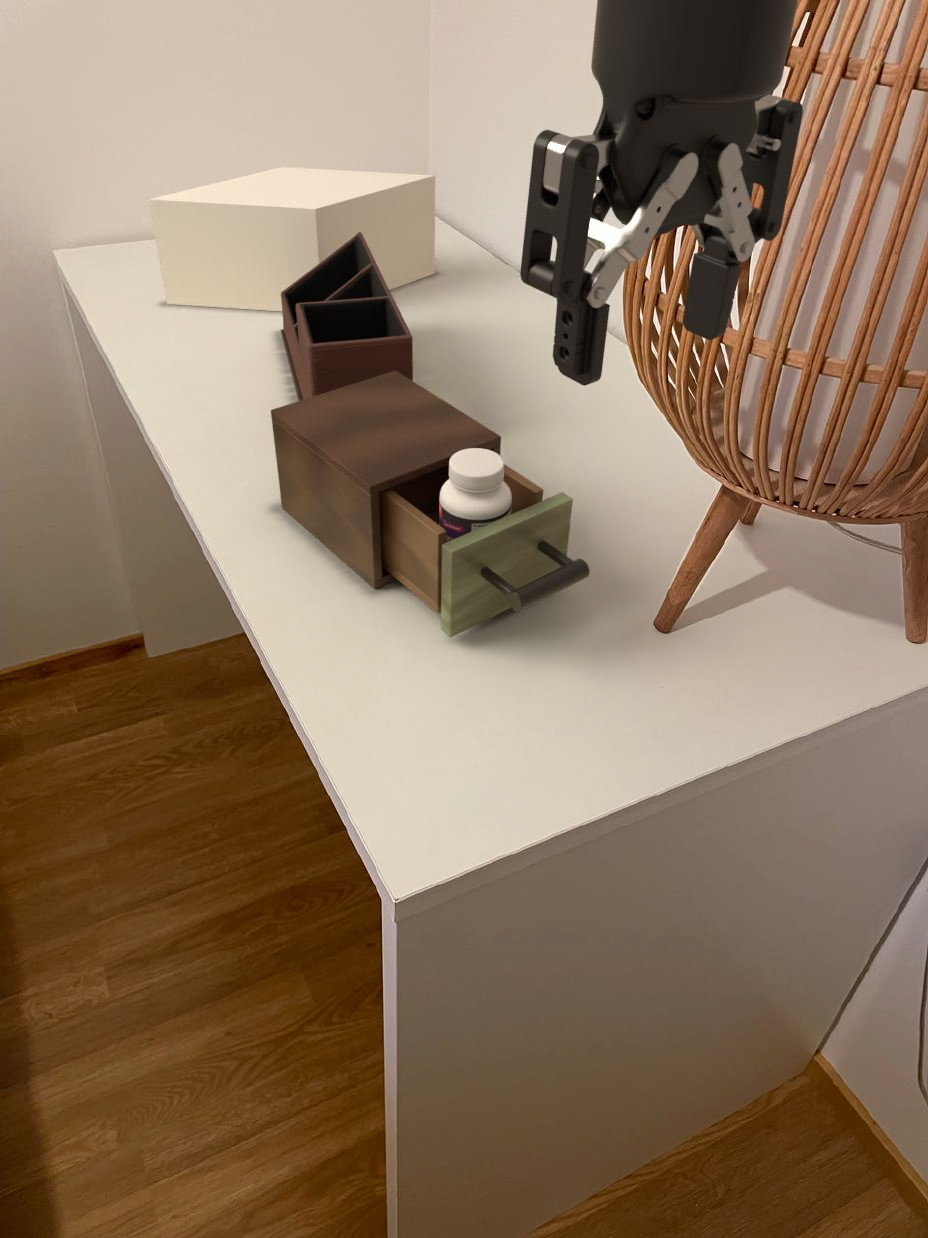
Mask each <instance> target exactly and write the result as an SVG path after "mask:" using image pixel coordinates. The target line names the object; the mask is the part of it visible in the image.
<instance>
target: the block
mask: <svg viewBox="0 0 928 1238" xmlns="http://www.w3.org/2000/svg"><path fill="white" fill-rule="evenodd" d="M148 206H149V211H150V217H151V222H152V228H153V233H154V238H155V243H156V250H157V256H158V260H159V266H160V267H159V268H160V272H161V273H160V274H161V278H162V284H163V289H164V295H165V301H166V305H178V306H194V307H206V308H207V307H208V308H222V309H223V308H224V309H237V310H238V309H239V310H252V311H253V310H254V311H268V312H269V311H270V312H282V301H281V292H282V291H284V290H285V289H286V288H288V287H289V286H290V285H292V284H293V283H294V282H296V281H297V280H298V279H299V278H301V277H302V276H303V275H305V274H306V273H307V272H309V271H310V270H311V269H313V268H314V267H315V266H317V265H318V264H319V263H320V262H322V261H323V260H324V259H326V258H327V257H328V256H330V255H331V254H332V253H334V252H335V251H336V250H337V249H339V248H340V247H341V246H342V245H344V244H345V243H346V242H348V241H349V240H350V239H351V238H353V237H354V236H355V235H357V234H358V233H359V232H361V233H362V235H363V237H364V239H365V241H366V243H367V245H368V247H369V249H370V251H371V253H372V256H373V258H374V260H375V262H376V264H377V266H378V268H379V270H380V272H381V274H382V277H383V279H384V281H385V283H386V285H387V287H388V289H389V291H391V290H394V289H396V288H399V287H402V286H405V285H407V284H409V283H413V282H416V281H418V280H421V279H423V278H426V277H429V276H433V275H435V274H436V175H433V174H416V173H401V172H400V173H399V172H398V173H397V172H396V173H395V172H383V171H381V172H380V171H378V172H377V171H363V170H361V171H360V170H344V169H325V168H309V167H308V168H307V167H289V166H288V167H287V166H280V167H276V168H273V169H269V170H268V169H267V170H265V171H260V172H256V173H251V174H247V175H244V176H243V175H242V176H239V177H235V178H231V179H227V180H223V181H218V182H213V183H210V184H206V185H202V186H198V187H193V188H190V189H185V190H182V191H181V190H180V191H176V192H173V193H169V194H165V195H164V194H163V195H161V196H156V197H153V198H149V199H148Z"/></svg>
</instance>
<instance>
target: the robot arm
mask: <svg viewBox="0 0 928 1238" xmlns="http://www.w3.org/2000/svg"><path fill="white" fill-rule="evenodd" d="M798 2H799V0H597V2H596V10H595V11H596V13H595V23H594V33H593V44H592V45H593V46H592V54H591V65H590V66H591V72H592V76H593V77H594V79H595V80H596V83H598V86H599V89H600V91H601V95H602V105H601V111H600V113H599V118H598V120H597V123H596V126H595V128H594V130H593V132H592V134H587V135H577V136H570V135H566V134H564V133H560V132H556V131H554V130H550V129H543V130H542V131H541V132H540V133H539V134H538V135H537V136H536V138H535V140H534V143H533V148H532V155H531V156H532V158H531V165H530V166H531V167H530V177H529V185H528V186H529V187H528V195H527V205H526V206H527V207H526V215H525V224H524V233H523V243H522V253H521V263H520V271H519V274H520V275H519V276H520V280H521V281H522V283H524V285H527V286H529V287H531V288H533V289H535V290H537V291H538V290H539V291H540V292H542V293H544V294H545V295H548V296H550V297H552V298H555V299H556V311H555V323H554V335H553V343H554V344H553V346H552V347H553V348H552V359H553V363H554V365H555V366H556V367H557V369H558V371H559V373H560V374H561V375H562V376H565V377H566V378H568V379H570V380H572V381H574V382H576V383H578V384H579V385H581V386H588V385H592V384H593V383H596V382H598V381H600V380H601V378H602V372H603V365H604V357H605V351H606V349H605V348H606V341H607V333H608V332H607V331H608V325H609V317H610V309H611V304H609V303H606V302H607V301H608V299H609V298H610V296H611V295H612V293H613V291H614V289H615V287H616V285H617V284H618V282H619V281H620V278H621V277H622V275H623V273H624V272H625V270H626V268H627V266H628V265H629V264H631V263H636V262H638V261H640V260H641V259H642V258H643V257H644V256H645V254H646V252H647V250H648V248H649V247H650V245H651V243H652V242H653V240H654V239H655V237H659V236H662V235H665V234H668V233H671V231H673V230H674V229H676V228H678V227H680V226H682V225H683V226H690V227H691V228H692V230H693V233H694V236H695V238H696V241H697V244H698V245H699V247H700V248H703V250H702V251H698V252H694V253H693V257H692V263H691V268H690V269H691V270H690V274H689V280H688V286H687V292H686V297H685V303H684V309H683V315H682V325H683V327H684V329H685V330H686V331H688V332H689V333H692V334H693V335H696V336H699V337H701V338H703V339H705V340H708V341H712V340H714V339H718V338H721V337H723V336H724V335H725V334H726V331H727V326H728V321H729V318H730V316H731V314H732V310H733V305H734V300H735V296H736V293H735V292H736V291H737V285H738V281H739V278H740V277H739V276H740V272H741V266H742V263H744V262H746V261H748V259H749V258H750V257H751V255H752V254H753V253H754V252H753V251H754V249H755V246H756V244H757V243H758V242H759V241H761V240H764V241H766V242H771V241H773V240H775V238H776V237H777V236H778V235H779V233H780V231H781V229H782V225H783V219H784V214H785V209H786V204H787V199H788V193H789V187H790V183H791V177H792V172H793V168H794V162H795V156H796V151H797V147H798V146H797V145H798V141H799V135H800V130H801V126H802V119H803V115H804V114H803V113H804V108H803V104H802V103H801V102H799V101H794V100H790V99H787V98H785V97H781V96H777V95H773V94H772V93H773V92H774V91H775V90H776V89H777V88H778V87H779V86H780V84H781V81H783V80H782V79H783V76H784V70H785V66H786V61H787V56H788V51H789V47H790V41H791V37H792V33H793V27H794V23H795V17H796V13H797V8H798ZM755 184H756V185H760V187H762V189H763V195H762V200H761V206H760V208H759V207H756V206H753V205H752V197H753V192H754V185H755ZM610 210H612V213H613V215H614V216H615V218H616V220H618V221H619V222H620V223H621V224H622V225H624V226H623V227H616V226H613V225H611V224H608V223H606V222H604V220H605V218H606V217H607V215H608V213H609V211H610ZM554 239H555V241H556V251H555V259H554V260H551V258H552V250H553V240H554ZM598 250H604V251H603V252H602V254H601V256H600V257H599V259H598V261H597V263H596V264H595V266H594V268H593V270H592V272H590V271H588V270H586V268H587V266H588V264H590V261H591V260H592V258H593V255H594V254H595V253H596V252H597V251H598Z"/></svg>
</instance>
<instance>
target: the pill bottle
mask: <svg viewBox="0 0 928 1238" xmlns="http://www.w3.org/2000/svg"><path fill="white" fill-rule="evenodd" d="M504 464H505V461H504V459H503V457H502V456H501V454H500V455H498V454H497V453H495V452H493V451H491V450H487V449H482V448H470V449H464V450H461V451H458V452H456V453H455V454H454V455H453V456H452V457H451V458H450V461H449V480H447V481H446V482H445V483H444V485H443V486H442V488H441V491H440V498H439V526H441V527H442V528H443V529H445V530H446V531H447V542H449V541H451V540H454V539H456V538H458V537H461V536H463V535H465V534H467V533H470V532H472V531H474V530H477V529H479V528H481V527H484V526H486V525H488V524H490V523H493V522H495V521H497V520H500V519H502V518H504V517H507V516H509V515H511V506H512V494H511V491H510V488H509V487H508V485H507V484H506V483H505V482H504V481H503V478H504Z"/></svg>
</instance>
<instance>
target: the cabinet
mask: <svg viewBox="0 0 928 1238" xmlns="http://www.w3.org/2000/svg"><path fill="white" fill-rule="evenodd" d="M270 415H271V416H270V417H271V425H272V433H273V442H274V450H275V451H274V452H275V459H276V469H277V476H278V485H279V493H280V503H281V509H283V511H285V512H286V513H287V514H288V515H290V516H291V517H292V518H293V519H294V520H295V521H296V522H297V523H299V524H300V526H302V527H303V528H304V529H305V530H307V531H308V532H309V533H310V534H311V535H312V536H314V538H316V540H318V542H320V543H321V544H322V545H324V547H326V548H327V549H328V550H329V551H330V552H332V553H333V554H334V555H335V556H336V557H337V558H338V559H340V560H341V561H342V562H343V563H344V564H345V565H346V566H347V567H348V568H349V569H351V570H352V571H353V572H354V573H355V574H357V575H358V576H359V578H360V577H361V579H362V580H364V581H365V583H367V584H368V585H369V586H370V587H372V589H374V590H377V589H379V588H382V587H384V586H386V585H387V584H390V583H393V582H395V581H398V580H397V579H396V578H395V577H394V576H393V575H392V574H390V573H389V572H388V571H387V570H386V569H384V568H383V567H382V558H381V533H380V508H379V493H378V492H381V491H383V490H386V489H388V488H391V487H394V486H396V485H399V484H401V483H404V482H406V481H409V480H412V479H414V478H417V477H419V476H422V475H425V474H427V473H430V472H432V471H435V470H437V469H440V468H443V467H445V466H448V465H449V461H450V458H451V457H452V456H453V455H454V454H455V453H456V452H458V451H461V450H464V449H470V448H482V449H487V450H491V451H493V452H495V453H497V454H498V455H500V456H501V450H502V449H501V445H502V436H501V435H499V434H498V433H496V432H495V431H494V430H491V429H490V428H489V427H487V426H485V425H483V424H482V423H480V422H478V421H477V420H476V419H474V418H472V417H471V416H469V415H468V414H466V413H464V412H463V411H462V410H459V408H457V407H455V406H453V405H452V404H450V403H448V402H447V401H445V400H444V399H442V398H440V397H439V396H437V395H436V394H434V393H432V392H431V391H429V390H428V389H426V388H424V387H423V386H421V385H420V384H418V383H416V382H415V381H414V380H413V381H412V380H410V379H409V378H407V377H405V376H404V375H402V374H401V373H399V372H397V371H392V372H389V373H386V374H383V375H380V376H377V377H373V378H370V379H367V380H364V381H361V382H358V383H354V384H351V385H348V386H345V387H342V388H339V389H336V390H332V391H329V392H326V393H323V394H320V395H317V396H313V397H310V398H307V399H304V400H301V401H298V400H297V401H295V402H291V403H288V404H285V405H282V406H279V407H276V408H272V409H270Z"/></svg>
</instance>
